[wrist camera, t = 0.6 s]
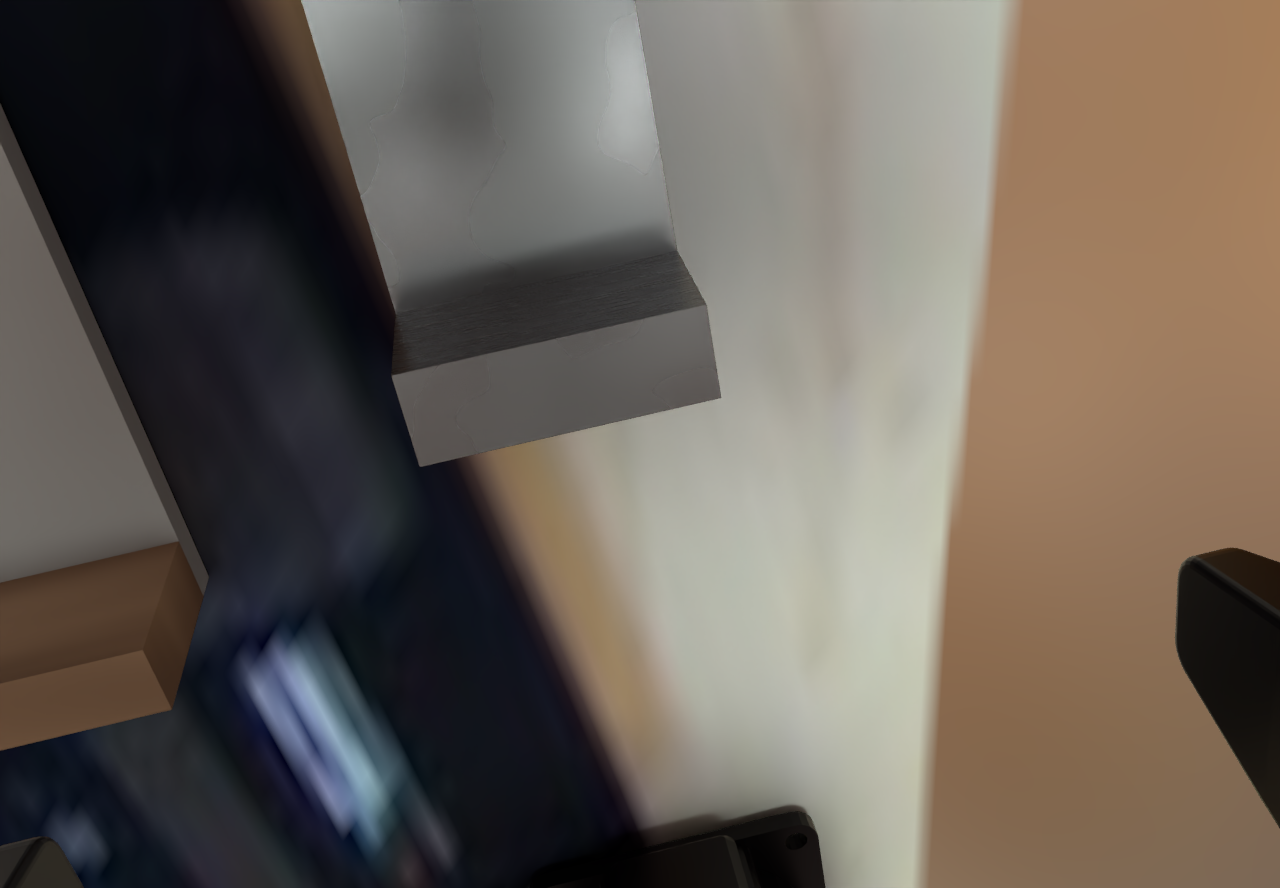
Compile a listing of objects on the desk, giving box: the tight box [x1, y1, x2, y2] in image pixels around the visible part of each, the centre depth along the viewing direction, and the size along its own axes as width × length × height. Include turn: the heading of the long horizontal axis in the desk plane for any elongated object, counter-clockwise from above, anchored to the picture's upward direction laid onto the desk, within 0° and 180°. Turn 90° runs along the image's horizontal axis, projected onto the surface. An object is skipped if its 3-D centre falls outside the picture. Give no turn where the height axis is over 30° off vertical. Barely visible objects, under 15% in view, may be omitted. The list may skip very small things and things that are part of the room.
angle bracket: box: [301, 0, 721, 467], centre depth 17 cm, size 7×4×4 cm, turn 9°
